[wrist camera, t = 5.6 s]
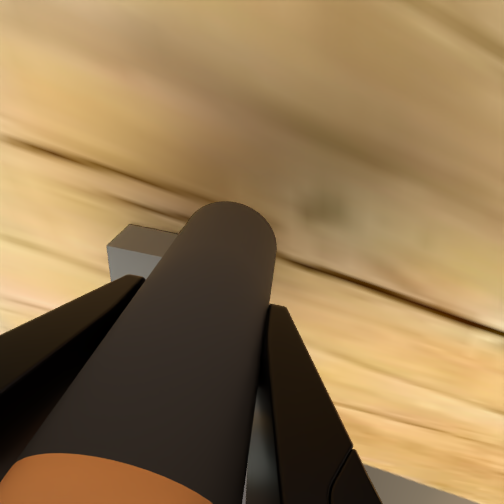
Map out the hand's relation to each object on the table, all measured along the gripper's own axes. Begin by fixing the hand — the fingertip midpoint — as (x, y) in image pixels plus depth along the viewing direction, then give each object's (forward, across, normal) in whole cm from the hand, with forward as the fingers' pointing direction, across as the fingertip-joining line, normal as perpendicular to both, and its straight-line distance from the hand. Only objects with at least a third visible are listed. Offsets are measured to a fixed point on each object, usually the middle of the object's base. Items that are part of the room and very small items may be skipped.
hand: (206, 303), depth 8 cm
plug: (+3, 0, 0) cm, 3 cm away
